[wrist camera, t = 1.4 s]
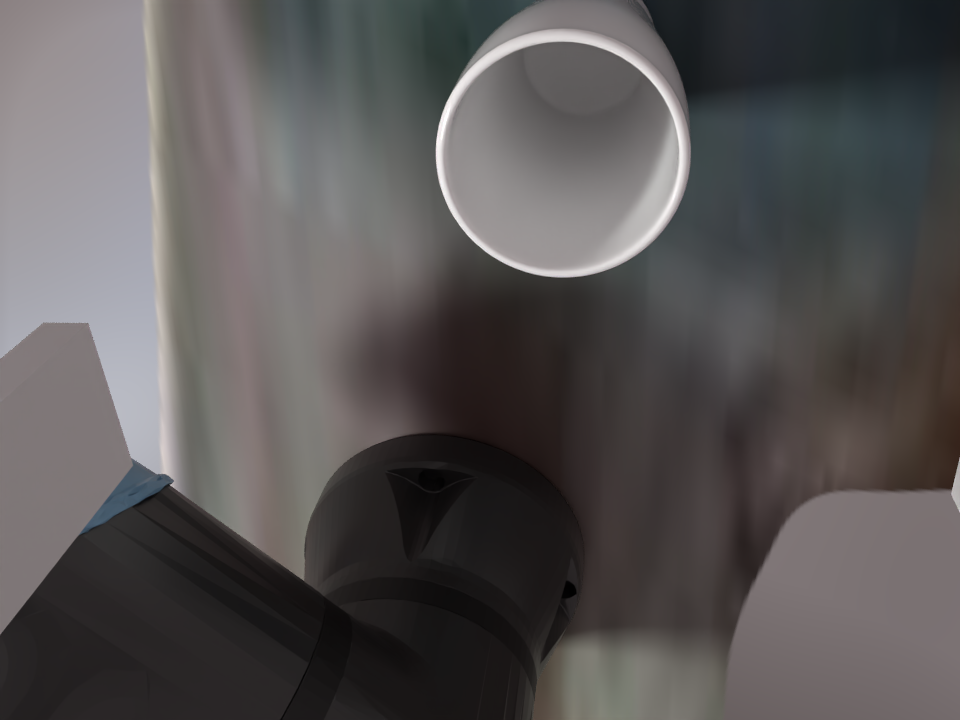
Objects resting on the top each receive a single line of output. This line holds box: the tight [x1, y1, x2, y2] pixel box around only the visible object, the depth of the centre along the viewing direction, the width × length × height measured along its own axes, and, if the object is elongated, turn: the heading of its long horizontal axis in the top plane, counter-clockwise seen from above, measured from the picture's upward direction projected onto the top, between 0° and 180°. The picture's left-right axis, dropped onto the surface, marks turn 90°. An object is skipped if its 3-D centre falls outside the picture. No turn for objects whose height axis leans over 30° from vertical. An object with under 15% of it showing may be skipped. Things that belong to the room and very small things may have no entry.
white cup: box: [436, 0, 691, 278], centre depth 30 cm, size 7×7×15 cm
